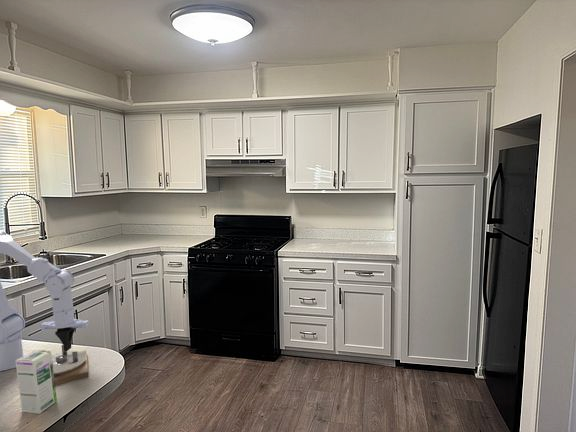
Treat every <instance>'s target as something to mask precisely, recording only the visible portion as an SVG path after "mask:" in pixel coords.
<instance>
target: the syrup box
mask: <svg viewBox="0 0 576 432" xmlns="http://www.w3.org/2000/svg"><path fill="white" fill-rule="evenodd" d="M26 354H27V355H25V356H23V357H21V358H20V359H17V360H16V368H15V369H16V376H17V382H18V390H19V399H20V400H19V401H20V406H21V407H20V408H21V412H23V413H26V414H27V413H28V414H35V415H36V414H37V415H40V414H42V413H43V412H44V411H45V410H47V409H48V408H49V407H51V406H52V405H53V404H55V403H56V402H57V401H58V400H57V392H56V385H55V381H54V372H53V363H52V355H53V354H52V351H51V350H45V349H40V350H39V349H37V350H35V349H34V350H32V351H30V352H29V353H26Z"/></svg>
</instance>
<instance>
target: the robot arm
mask: <svg viewBox="0 0 576 432" xmlns="http://www.w3.org/2000/svg"><path fill="white" fill-rule="evenodd" d="M0 254H4V255H6V256H8V257H10V258H12V259H13V260H15V261H16V262H17V263H20V264H22V265H24V266H26V269H27V273H29V274H30V275H32V276H33V277H35V278H36V279H37V280H39V281H41V282H42V283H43V284H45V285H44V286H45V289H46V290H47V292H49V295H50V297H51V298H50V299H51V307H52V315H53V321H44V322H43V323H41V324H40V330H41V331H45V330H53V329H54V330H55V329H56V331H55V332H54V333H55V334H54V335H55V336H56V337H57V338H58V339H59V340H60V342H61V344H62V345H63V346H64V350H65V351H67V352H69V351H70V350H71V349H72V338H73V335H74V333H75V331H76V329H78V328H79V329H81V328H82V329H87V328H89V326H90V323H89V319H88V320H84V319H76V318H75V311H74V301H73V293H72V292H73V291H72V285H73V284H74V282H75V277H74V275H73V273H72V272H70V271H69V270H67V269H61V268H60V267H57V266H55V265H54V264H52V263H50V262H49V259H47V258H46V257H45V258H43V257H35V256H34V255H32V253H30V252H29V251H27V249H25V248H24V247H22V246H21V245H20V244H19V243H17V242H16V241H15V240H14V239H13V236H12V235H10V234H8V233H6V231H5V230H1V229H0ZM25 328H26V321H25V318H24V317H23V316H22V315H21V314H20V312H19V310H18V309H17V308H15V307H13V306H11V305H10V303H9V299H7V296H6V293H5V290H4V288H3V285H2V282H1V281H0V372H2V371H6V370H11V369H12V370H13V369H16V360H17V359H20V358H21V357H23V356H25V355H27V354H28V353H24V351H23V349H24V348H23V342H22V341H23V339H22V335H23V330H24V329H25Z"/></svg>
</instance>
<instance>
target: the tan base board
mask: <svg viewBox="0 0 576 432" xmlns="http://www.w3.org/2000/svg"><path fill="white" fill-rule="evenodd" d="M80 352H82V353H84V354H85V362H84V364H83V365H82V366H80V367H79V368H77V369H75V370H73V371H71V372H68V373H65V374H61V375H56V376H54V381H55V386H56V385H60V384H64V383H68V382H72V381H76V380H80V379H84V378H88V377H89V366H88V356H87V355H88V354H87V349H86V350H81V351H80Z"/></svg>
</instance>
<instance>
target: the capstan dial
mask: <svg viewBox="0 0 576 432" xmlns="http://www.w3.org/2000/svg"><path fill="white" fill-rule="evenodd" d="M84 362H85V354H84V353H82V352H81V351H76V350H72V351H71V350H68V351H65V350H64V346H63V344H61V352H59V353H56V354H52V363H53V372H54V376H56V375H61V374H65V373H68V372H71V371H73V370H75V369H77V368H79V367H80V366H82V365H83V364H84Z"/></svg>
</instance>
